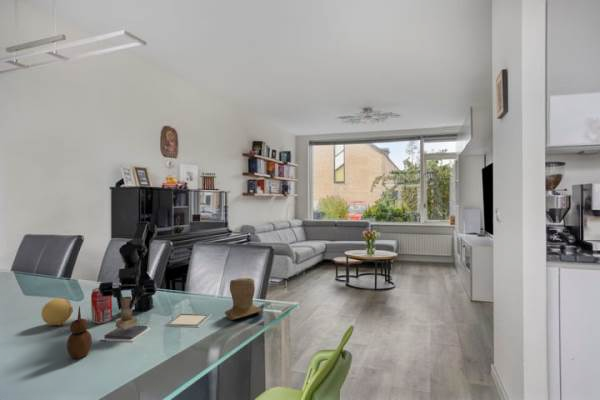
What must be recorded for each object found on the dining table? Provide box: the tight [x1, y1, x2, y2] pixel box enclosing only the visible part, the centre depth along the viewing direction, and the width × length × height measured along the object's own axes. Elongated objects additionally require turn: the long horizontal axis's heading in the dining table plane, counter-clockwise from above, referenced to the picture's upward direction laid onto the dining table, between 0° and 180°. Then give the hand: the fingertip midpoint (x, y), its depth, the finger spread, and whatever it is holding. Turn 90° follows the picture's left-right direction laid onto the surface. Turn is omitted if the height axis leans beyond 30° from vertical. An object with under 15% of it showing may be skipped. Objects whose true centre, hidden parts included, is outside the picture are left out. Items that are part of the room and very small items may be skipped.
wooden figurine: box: [66, 305, 93, 360], centre depth 112 cm, size 7×6×15 cm
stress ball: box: [41, 298, 74, 326], centre depth 140 cm, size 10×10×10 cm
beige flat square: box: [162, 312, 213, 328], centre depth 143 cm, size 14×14×1 cm
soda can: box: [90, 287, 113, 325], centre depth 143 cm, size 7×7×13 cm
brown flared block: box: [224, 277, 262, 320], centre depth 149 cm, size 15×12×15 cm
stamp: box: [115, 296, 138, 329], centre depth 130 cm, size 5×5×10 cm
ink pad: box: [99, 325, 152, 343], centre depth 129 cm, size 12×12×1 cm
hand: (125, 308), depth 128 cm, fingers closed on stamp, 3 cm apart
